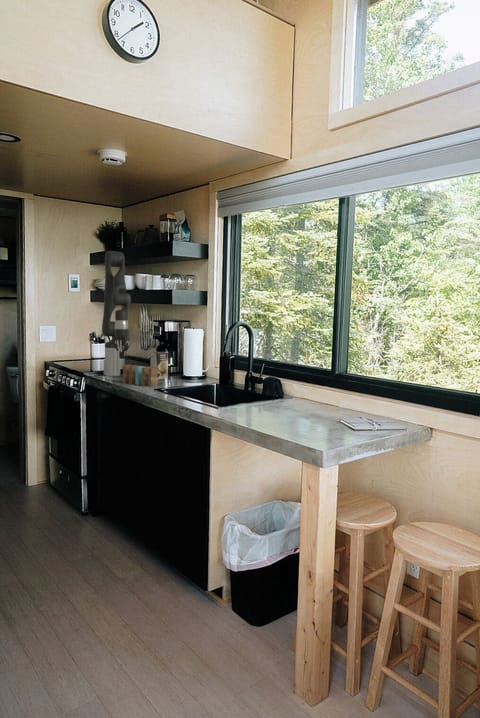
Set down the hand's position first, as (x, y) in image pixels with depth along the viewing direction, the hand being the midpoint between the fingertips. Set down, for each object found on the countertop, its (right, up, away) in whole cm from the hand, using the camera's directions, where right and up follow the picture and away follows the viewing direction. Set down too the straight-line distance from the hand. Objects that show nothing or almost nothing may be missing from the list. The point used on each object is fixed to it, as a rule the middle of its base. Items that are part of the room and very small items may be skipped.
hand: (121, 358), depth 301 cm
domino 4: (+16, -15, -10) cm, 24 cm away
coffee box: (+18, -12, +20) cm, 30 cm away
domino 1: (+4, -14, -2) cm, 14 cm away
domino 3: (+12, -14, -7) cm, 20 cm away
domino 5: (+20, -15, -13) cm, 28 cm away
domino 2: (+8, -14, -4) cm, 17 cm away
